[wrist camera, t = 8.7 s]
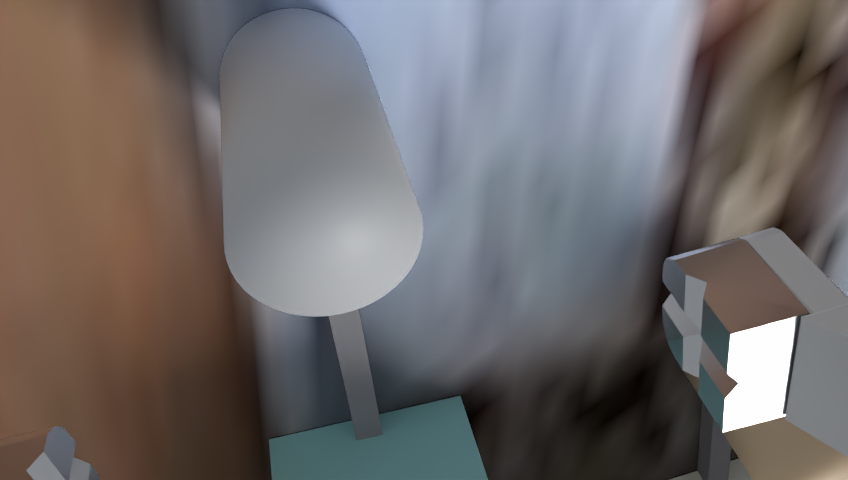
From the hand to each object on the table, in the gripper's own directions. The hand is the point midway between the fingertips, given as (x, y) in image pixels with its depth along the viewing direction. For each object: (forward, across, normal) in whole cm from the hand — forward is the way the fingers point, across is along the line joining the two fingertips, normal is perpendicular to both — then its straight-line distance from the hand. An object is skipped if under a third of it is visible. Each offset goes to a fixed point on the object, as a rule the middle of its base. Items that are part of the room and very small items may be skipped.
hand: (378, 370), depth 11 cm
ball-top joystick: (+9, +1, +8) cm, 12 cm away
